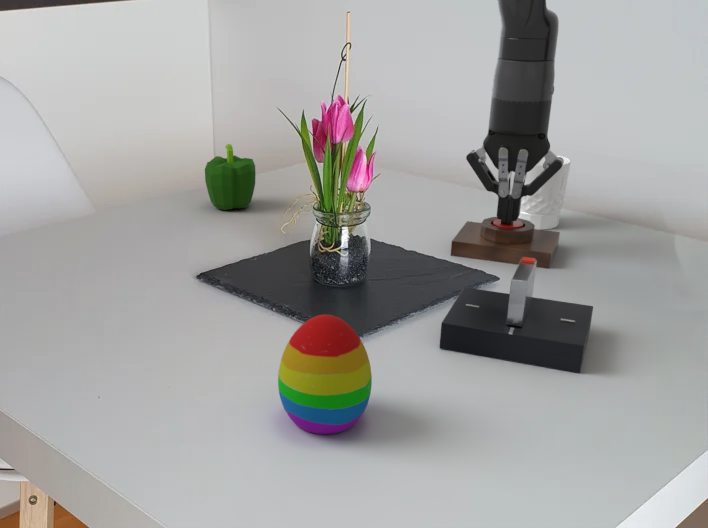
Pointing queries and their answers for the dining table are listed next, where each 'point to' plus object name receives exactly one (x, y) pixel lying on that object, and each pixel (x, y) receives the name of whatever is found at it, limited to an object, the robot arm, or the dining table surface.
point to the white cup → (545, 197)
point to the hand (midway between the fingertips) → (507, 222)
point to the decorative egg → (324, 376)
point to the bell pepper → (230, 181)
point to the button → (515, 225)
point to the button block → (505, 243)
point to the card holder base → (518, 330)
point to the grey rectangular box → (521, 291)
